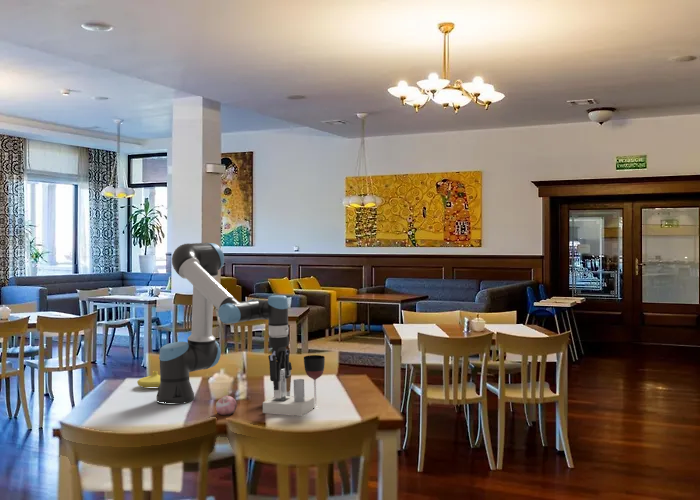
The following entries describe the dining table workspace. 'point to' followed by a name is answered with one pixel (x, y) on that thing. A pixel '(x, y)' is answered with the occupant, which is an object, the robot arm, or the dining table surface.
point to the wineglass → (314, 369)
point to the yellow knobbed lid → (150, 380)
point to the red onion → (226, 405)
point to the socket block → (291, 402)
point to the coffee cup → (288, 380)
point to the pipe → (282, 386)
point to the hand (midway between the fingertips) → (280, 396)
